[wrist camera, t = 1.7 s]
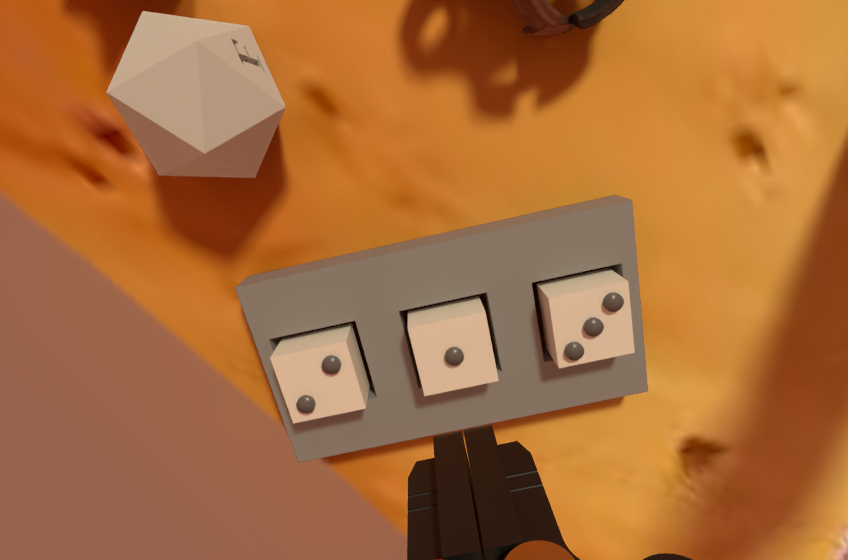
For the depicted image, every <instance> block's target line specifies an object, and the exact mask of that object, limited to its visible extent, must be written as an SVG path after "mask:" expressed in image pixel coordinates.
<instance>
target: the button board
mask: <svg viewBox="0 0 848 560" xmlns="http://www.w3.org/2000/svg"><path fill="white" fill-rule="evenodd" d="M607 266H608V268H610V269H611V270H613V271H614V272H616V273H617V274H618V275H620V276H621V277H623V278H624V279H626V280H627V281H628V284H629V295H630V305H631V316H632V327H633V338H634V349H635V353H631V354H626V355H621V356H617V357H612V358H607V359H602V360H597V361H593V362H588V363H583V364H578V365H573V366H568V367H564V368H558V366H557V365H556V363H555V362H554V360H553V358H552V357H551V355H550V354H549V352H548V350H547V349H546V345H542V346H541V339H540V333H539V327H538V320H537V314H536V308H535V301H534V295H533V289H532V283H533V282H537V281H542V280H547V279H551V278H556V277H561V276H565V275H570V274H574V273H579V272H584V271H588V270H593V269H598V268H602V267H607ZM235 289H236V292H237V295H238V297H239V300H240V303H241V306H242V308H243V311H244V314H245V317H246V319H247V322H248V325H249V328H250V331H251V333H252V336H253V339H254V342H255V344H256V347H257V350H258V353H259V355H260V358H261V361H262V364H263V366H264V369H265V372H266V375H267V378H268V380H269V383H270V386H271V389H272V391H273V394H274V397H275V400H276V402H277V405H278V408H279V411H280V414H281V416H282V419H283V422H284V425H285V427H286V430H287V433H288V436H289V438H290V441H291V444H292V447H293V449H294V452H295V455H296V458H297V460H298V462H304V461H309V460H314V459H319V458H324V457H329V456H333V455H338V454H343V453H348V452H353V451H358V450H363V449H368V448H373V447H378V446H382V445H387V444H392V443H397V442H402V441H407V440H412V439H417V438H422V437H427V436H432V435H436V434H441V433H446V432H451V431H456V430H461V429H466V428H471V427H476V426H481V425H485V424H490V423H495V422H500V421H505V420H510V419H515V418H520V417H525V416H530V415H535V414H539V413H544V412H549V411H554V410H559V409H564V408H569V407H574V406H579V405H584V404H588V403H593V402H598V401H603V400H608V399H613V398H618V397H623V396H628V395H633V394H638V393H642V392H647V391H648V385H647V373H646V361H645V349H644V337H643V326H642V314H641V302H640V290H639V278H638V266H637V254H636V243H635V231H634V219H633V207H632V200H630V199H627V198H624V197H620V196H617V195H613V196H609V197H604V198H600V199H595V200H591V201H586V202H582V203H577V204H573V205H568V206H564V207H559V208H555V209H550V210H545V211H541V212H536V213H532V214H527V215H523V216H518V217H514V218H509V219H505V220H500V221H496V222H491V223H487V224H482V225H478V226H473V227H469V228H464V229H460V230H455V231H451V232H446V233H442V234H437V235H432V236H428V237H423V238H419V239H414V240H410V241H405V242H401V243H396V244H392V245H387V246H383V247H378V248H374V249H369V250H365V251H360V252H356V253H351V254H347V255H342V256H338V257H333V258H329V259H324V260H319V261H315V262H310V263H306V264H301V265H297V266H292V267H288V268H283V269H279V270H274V271H270V272H265V273H261V274H256V275H252V276H248V277H246V278H245V279H244V280H243V281H242V282H241V283H240V284H239V285H237V286H236V287H235ZM482 293H484V296H485V301H486V307H487V312H488V317H489V322H490V328H491V333H492V338H493V343H494V348H495V354H496V355H494V359H495V364H496V369H497V374H498V380H499V381H496V382H491V383H486V384H482V385H477V386H472V387H467V388H462V389H458V390H453V391H448V392H443V393H438V394H433V395H429V396H424V392H423V388H422V384H421V380H420V376H419V372H418V370H417V366H416V362H415V358H414V354H413V350H412V346H411V342H410V338H409V334H408V330H407V326H406V322H405V318H404V314H403V310H407V309H412V308H417V307H421V306H426V305H430V304H435V303H440V302H444V301H449V300H454V299H458V298H463V297H468V296H472V295H477V294H482ZM352 321H355V322H356V325H357V329H358V332H359V336H360V339H361V343H362V346H363V350H364V353H365V357H366V360H367V364H368V367H369V371H370V374H371V378H372V381H370V382H369V385H370V386H369V392H368V398H367V404H366V409H361V410H356V411H351V412H347V413H342V414H337V415H332V416H327V417H323V418H318V419H313V420H308V421H303V422H298V423H294V424H293V421H292V418H291V416H290V413H289V410H288V407H287V404H286V402H285V399H284V396H283V393H282V390H281V387H280V385H279V382H278V379H277V376H276V373H275V371H274V368H273V365H272V362H271V359H270V357H271V355H272V354H273V352H274V351H275V349H276V347H277V346H278V344H279V343H280V341H281V339H282V338H283V336H286V335H291V334H296V333H300V332H305V331H310V330H314V329H319V328H324V327H328V326H333V325H338V324H342V323H347V322H352Z"/></svg>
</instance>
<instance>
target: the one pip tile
mask: <svg viewBox="0 0 848 560" xmlns="http://www.w3.org/2000/svg"><path fill="white" fill-rule="evenodd" d="M408 332H409V336H410V340H411V344H412V348H413V352H414V356H415V360H416V364H417V368H418V372H419V376H420V380H421V384H422V388H423V392H424V396H429V395H433V394H438V393H443V392H448V391H453V390H458V389H462V388H467V387H472V386H477V385H482V384H486V383H491V382H496V381H499V380H498V374H497V369H496V364H495V359H494V354H493V348H492V343H491V338H490V333H489V328H488V323H487V317H486V312H485V310H484V307H483V305H482V302H481V300H480V297H479V296H476V297H471V298H467V299H462V300H457V301H453V302H448V303H443V304H439V305H434V306H429V307H425V308H420V309H415V310H411V311H408Z"/></svg>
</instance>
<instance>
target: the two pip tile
mask: <svg viewBox="0 0 848 560" xmlns="http://www.w3.org/2000/svg"><path fill="white" fill-rule="evenodd" d="M270 359H271V362H272V365H273V368H274V371H275V373H276V376H277V379H278V382H279V385H280V387H281V390H282V393H283V396H284V399H285V402H286V404H287V407H288V410H289V413H290V416H291V418H292V421H293V424H294V423H298V422H303V421H308V420H313V419H318V418H323V417H327V416H332V415H337V414H342V413H347V412H351V411H356V410H361V409H366V404H367V398H368V392H369V386H370V385H369V381H368V378H367V375H366V371H365V368H364V364H363V361H362V357H361V354H360V350H359V347H358V343H357V340H356V336H355V333H354V329H353V326H352V323H350V324H346V325H341V326H336V327H332V328H327V329H322V330H318V331H313V332H309V333H304V334H299V335H295V336H290V337H285V338H282V339H281V341H280V343H279V344H278V346H277V347H276V349H275V351H274V352H273V354H272V355H271V357H270Z"/></svg>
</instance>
